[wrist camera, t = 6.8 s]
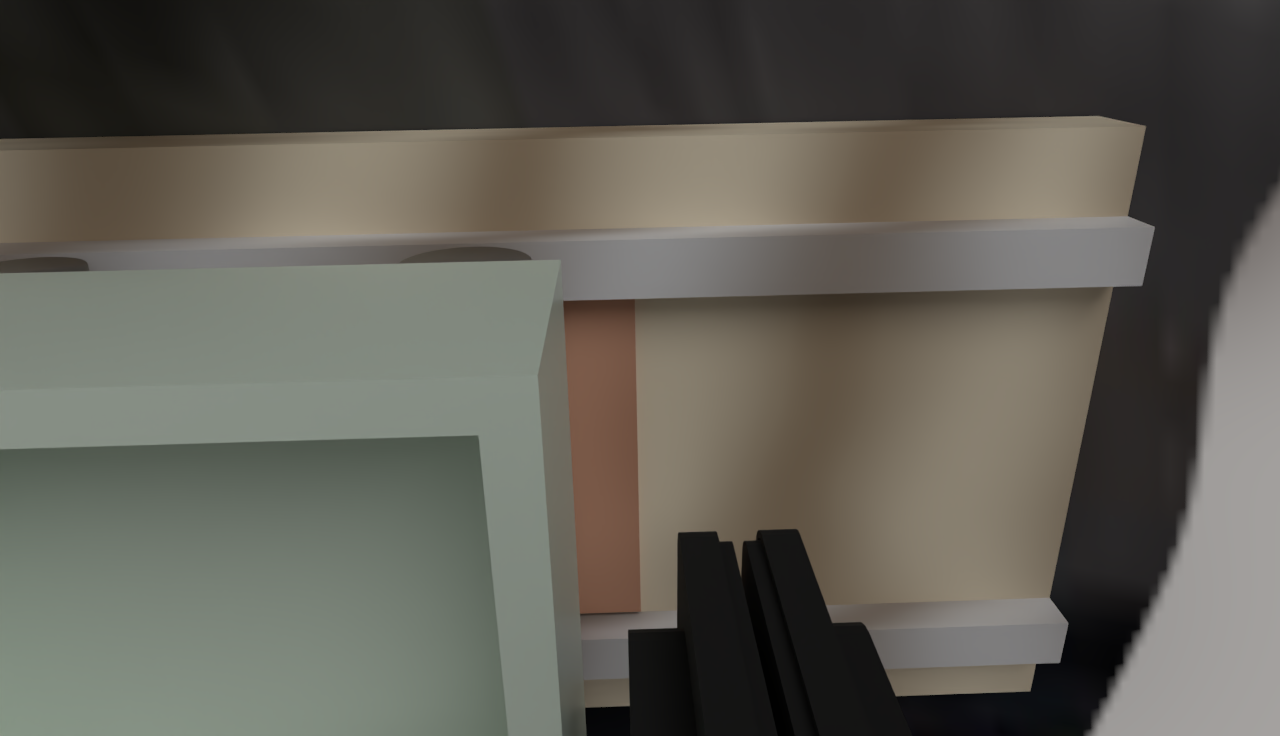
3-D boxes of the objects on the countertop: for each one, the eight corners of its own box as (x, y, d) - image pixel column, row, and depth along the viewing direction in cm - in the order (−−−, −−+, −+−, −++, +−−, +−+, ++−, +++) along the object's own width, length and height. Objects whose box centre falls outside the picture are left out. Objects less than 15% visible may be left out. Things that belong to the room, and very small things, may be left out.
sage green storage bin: (568, 226, 13) (537, 375, 8) (591, 698, 17) (581, 1026, 12) (-55, 240, 13) (-535, 405, 8) (105, 716, 17) (-141, 1059, 11)
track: (1098, 115, 15) (1174, 132, 13) (1001, 644, 20) (1047, 718, 18) (-141, 142, 15) (-265, 163, 13) (52, 677, 20) (-16, 758, 17)
